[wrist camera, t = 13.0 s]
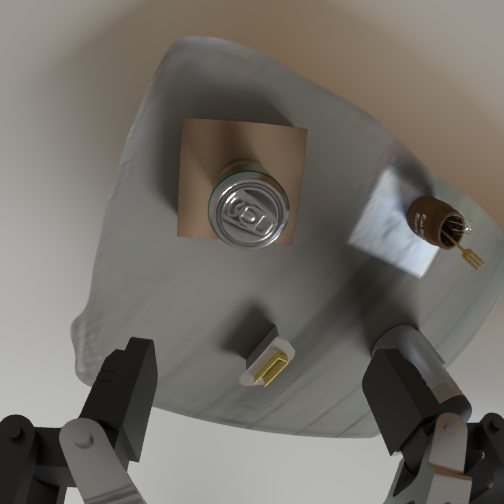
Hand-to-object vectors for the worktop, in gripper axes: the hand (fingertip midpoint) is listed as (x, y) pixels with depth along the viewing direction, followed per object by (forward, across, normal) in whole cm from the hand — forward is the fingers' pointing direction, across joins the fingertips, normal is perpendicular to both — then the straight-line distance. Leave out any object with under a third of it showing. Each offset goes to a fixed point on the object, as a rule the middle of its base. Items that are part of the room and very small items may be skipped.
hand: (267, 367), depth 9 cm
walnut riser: (+26, +1, -3) cm, 26 cm away
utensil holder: (+26, -25, -1) cm, 36 cm away
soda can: (+21, +1, -3) cm, 21 cm away
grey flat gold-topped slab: (+27, -5, +21) cm, 34 cm away
